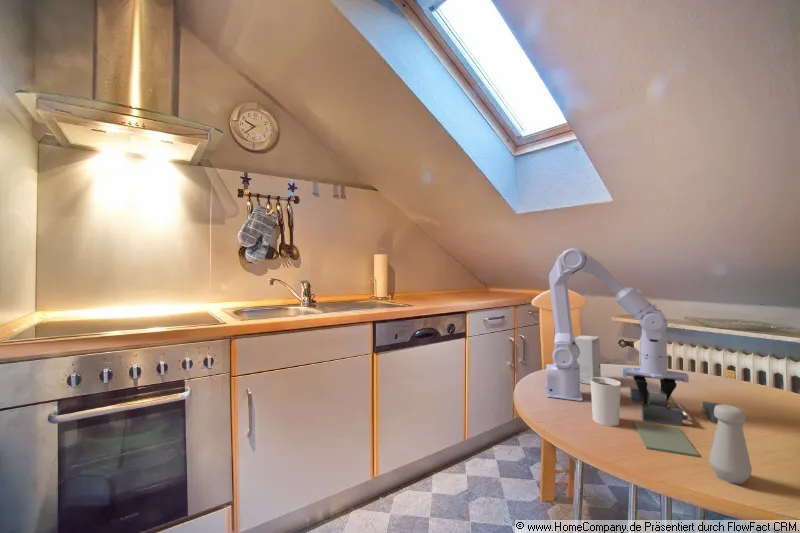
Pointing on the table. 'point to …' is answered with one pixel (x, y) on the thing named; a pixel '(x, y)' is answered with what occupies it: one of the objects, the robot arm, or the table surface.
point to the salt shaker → (730, 446)
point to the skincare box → (588, 357)
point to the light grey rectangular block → (656, 395)
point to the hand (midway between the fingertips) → (654, 405)
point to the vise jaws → (660, 411)
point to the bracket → (710, 410)
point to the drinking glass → (605, 400)
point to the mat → (665, 439)
